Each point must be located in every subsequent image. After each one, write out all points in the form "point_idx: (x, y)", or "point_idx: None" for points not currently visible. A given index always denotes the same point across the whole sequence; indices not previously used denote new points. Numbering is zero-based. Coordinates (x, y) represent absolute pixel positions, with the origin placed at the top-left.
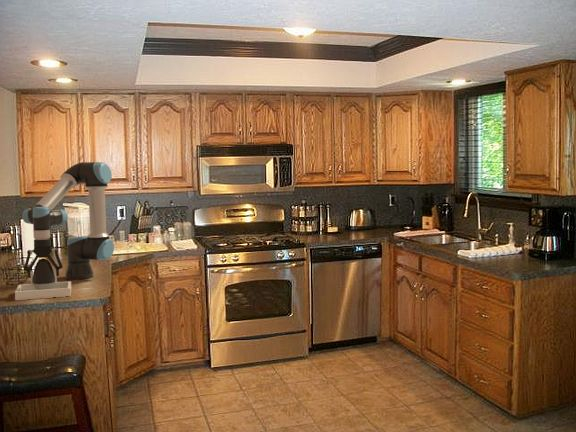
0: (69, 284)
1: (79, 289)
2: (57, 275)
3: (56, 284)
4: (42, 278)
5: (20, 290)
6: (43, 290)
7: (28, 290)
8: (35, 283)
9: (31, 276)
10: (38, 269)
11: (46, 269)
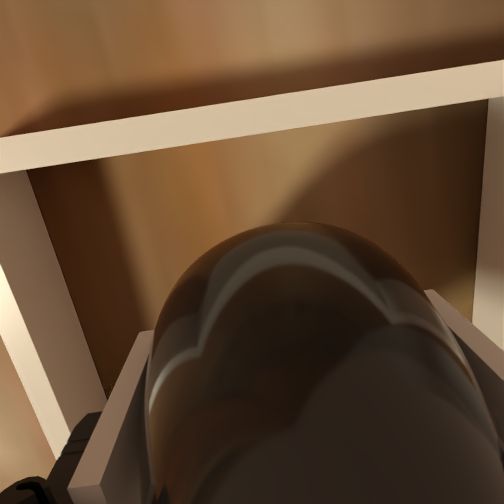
0: (29, 371)
1: (27, 419)
2: (96, 420)
3: None
4: (294, 253)
5: (499, 327)
6: (248, 100)
7: None
8: (383, 250)
9: (491, 356)
10: (438, 404)
11: (231, 416)
